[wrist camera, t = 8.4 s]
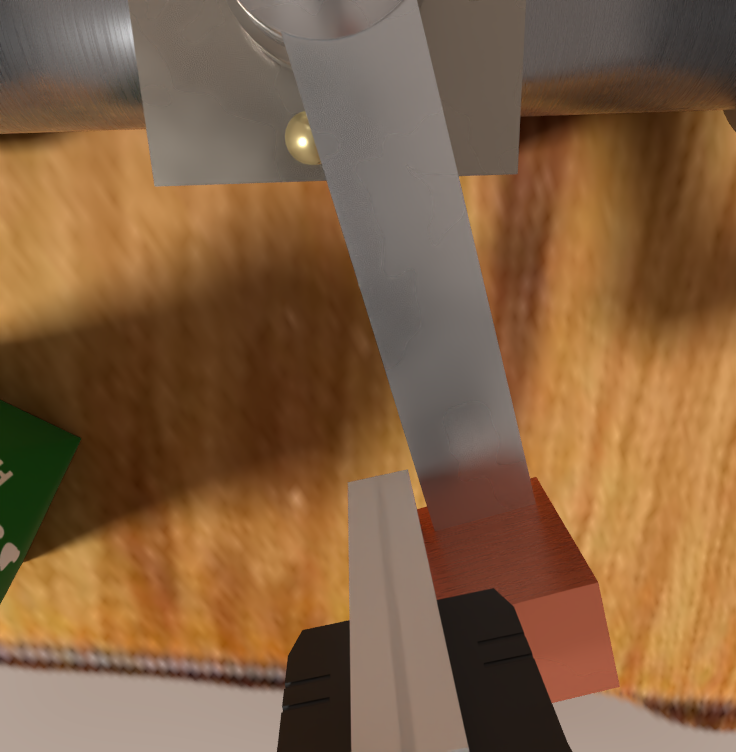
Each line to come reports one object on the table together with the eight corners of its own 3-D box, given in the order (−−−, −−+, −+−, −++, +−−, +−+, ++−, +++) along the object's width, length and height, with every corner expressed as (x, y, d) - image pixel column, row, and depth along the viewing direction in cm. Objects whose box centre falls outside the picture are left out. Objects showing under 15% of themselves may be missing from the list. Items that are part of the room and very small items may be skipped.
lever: (189, -142, 10) (77, -351, 6) (393, -217, 10) (420, -489, 6) (423, 577, 15) (448, 728, 11) (562, 540, 15) (641, 681, 11)
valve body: (-53, 188, 21) (-375, 205, 12) (-123, -84, 18) (-612, -340, 9) (734, 161, 21) (1027, 157, 12) (778, -110, 19) (1198, -384, 9)
